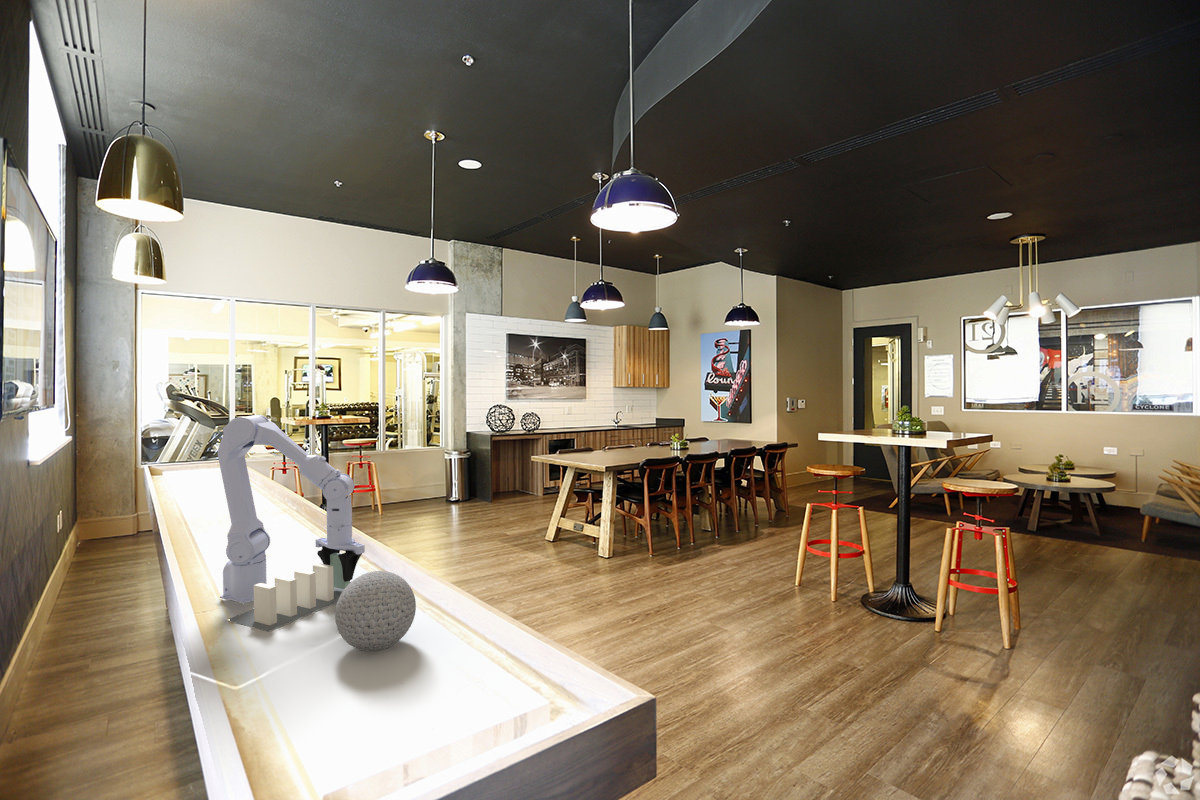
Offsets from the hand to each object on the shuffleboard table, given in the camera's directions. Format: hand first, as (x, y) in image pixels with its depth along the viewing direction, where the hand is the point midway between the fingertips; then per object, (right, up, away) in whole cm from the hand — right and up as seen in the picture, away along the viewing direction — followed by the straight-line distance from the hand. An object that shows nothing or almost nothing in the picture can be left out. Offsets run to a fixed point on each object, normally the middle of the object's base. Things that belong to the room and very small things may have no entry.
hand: (340, 578), depth 146 cm
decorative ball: (+20, -5, -29) cm, 35 cm away
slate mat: (-5, -4, -7) cm, 9 cm away
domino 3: (-4, -4, -9) cm, 10 cm away
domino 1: (-8, -4, -18) cm, 20 cm away
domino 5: (0, -2, 0) cm, 2 cm away
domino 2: (-6, -4, -13) cm, 15 cm away
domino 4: (-2, -3, -4) cm, 6 cm away
